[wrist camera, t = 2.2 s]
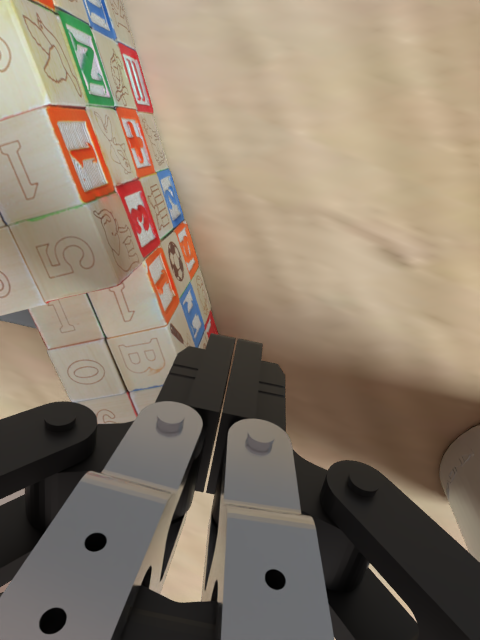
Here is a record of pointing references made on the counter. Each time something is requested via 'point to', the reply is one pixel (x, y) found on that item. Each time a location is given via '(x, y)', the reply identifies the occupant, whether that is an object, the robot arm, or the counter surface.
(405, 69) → the counter surface
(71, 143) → the stack of blocks
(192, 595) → the counter surface
